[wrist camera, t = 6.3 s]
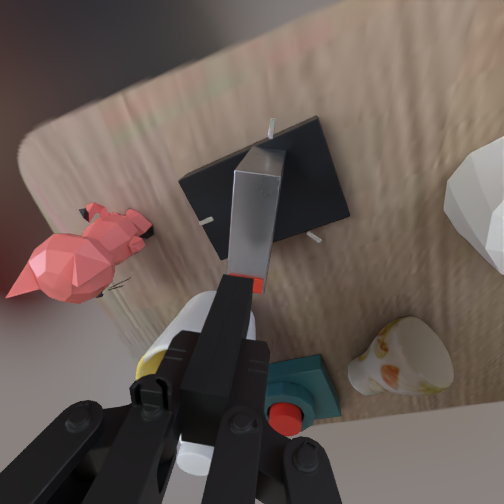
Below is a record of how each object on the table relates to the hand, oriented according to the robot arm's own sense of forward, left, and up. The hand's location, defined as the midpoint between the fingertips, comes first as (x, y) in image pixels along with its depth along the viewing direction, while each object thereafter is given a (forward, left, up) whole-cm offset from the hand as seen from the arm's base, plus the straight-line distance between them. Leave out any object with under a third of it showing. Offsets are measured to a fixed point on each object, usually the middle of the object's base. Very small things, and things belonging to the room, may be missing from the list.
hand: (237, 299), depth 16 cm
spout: (+1, -1, -12) cm, 12 cm away
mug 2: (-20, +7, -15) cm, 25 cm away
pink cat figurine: (+11, +9, -15) cm, 20 cm away
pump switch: (-14, +19, -15) cm, 28 cm away
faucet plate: (+1, -1, -15) cm, 15 cm away
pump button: (-14, +19, -11) cm, 26 cm away
